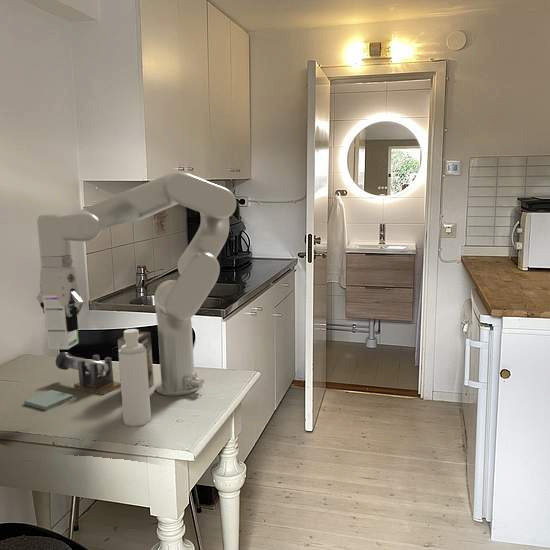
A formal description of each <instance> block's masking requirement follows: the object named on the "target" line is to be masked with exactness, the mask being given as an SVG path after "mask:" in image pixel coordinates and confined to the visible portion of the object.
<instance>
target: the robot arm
mask: <svg viewBox="0 0 550 550" xmlns="http://www.w3.org/2000/svg"><path fill="white" fill-rule="evenodd" d="M177 205H179V206H184V207H186V208H188V209H190V210H193V211H196V212H199V214H200V215H199V216H200V224H199V227H198V228H197V229H198V230H197V231H196V233H195V234H194V236H193V238H192V240H191V241H190V242H189V244H188V245H187V246H186V249H185V250H184V251H183V253H182V254H181V255H180V258H179V259H178V262H177V270H178V273H179V274H180V275H179V276H178V277H177V279H167V280H165V281H163V282H161V283H160V284H159V285H158V286H157V288H156V290H155V293H154V309H155V314H156V315H155V316H156V322H157V336H158V350H159V352H158V353H159V354H158V355H159V364H160V365H159V367H160V369H159V370H160V381H159V382H158V383H156V386H155V390H156V392H157V393H159V394H161V395H163V396H164V395H165V396H173V397H174V396H176V397H177V396H185V395H189V394H193V393H194V392H196V391H197V390H199V389H202V388H203V385H204V383H205V379H203V378H198V372H195V364H194V363H195V362H194V346H193V344H194V342H193V327H192V325H193V324H192V318H193V317H194V315H196V313H197V312H198V311H199V309H200V308H201V306H203V304H204V301H206V299H207V297H209V294H210V293H211V291H212V289H213V288H214V286H215V285H216V284H217V281H218V278H219V276H220V273H221V271H220V270H221V267H220V263H219V260H218V259H217V257H218V256H219V255H220V253H221V251H222V249H223V248H224V246H225V244H226V242H227V239H228V237H229V232H230V217H231V216H233V214H234V213H235V211H236V209H237V199H236V196H235V195H234V193H233V192H232V191H231V190H230V189H228V188H227V187H223V186H221V185H218V184H215V183H213V182H210V181H208V180H205V179H202V178H201V177H198V176H196V175H194V174H193V175H192V174H191V173H187V172H183V171H176V172H175V171H174V172H171V173H167V174H164V175H161V176H160V177H157V178H155V179H152V180H149V181H147V182H145V183H143V184H139V185H138V186H135V187H133V188H130V189H128V190H125V191H123V192H120V193H118V194H117V195H115V196H112V197H110V198H106V199H103V200H102V201H99V202H97V203H94V204H92V205H90V206H87V207H84V208H82V209H80V210H78V211H75V212H74V213H71V214H65V213H45V214H44V213H43V214H40V215H38V217H37V219H36V221H37V223H36V224H37V234H38V246H39V259H40V266H41V267H40V272H39V273H40V274H39V289H40V290H39V291H40V293H39V294H38V295H37V296H36V300H37V302H38V303H39V307H41V309H42V314H44V315H45V310H44V301H43V296H44V295H47V294H55V296H57V297H58V300H59V302H60V304H61V306H64V307H65V311H66V313H67V316H68V317H66V325H67V332H71V331H74V330H77V329H78V330H79V325H78V323H79V322H78V316H79V315H80V314H79V313H80V312H81V310H82V307H83V305H84V304H85V302H84V300H83V299H82V298H81V291H80V284H79V279H78V276H77V275H78V274H77V271H76V268H75V266H73V260H74V259H73V257H72V246H71V245H72V244H71V242H85V243H87V242H88V243H89V242H92V241H94V240H96V239H97V238H98V237H99V236H100V234H101V233H102V231H105V230H108V229H111V228H113V227H115V226H119V225H121V224H125V223H133V222H134V223H135V222H138V221H142V220H145V219H147V218H149V217H151V216H154V215H156V214H157V213H160V212H162V211H164V210H167V209H170V208H172V207H174V206H177ZM69 302H70V304H69ZM69 307H72V310H70V308H69ZM45 322H46V320H45Z"/></svg>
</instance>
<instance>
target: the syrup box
mask: <svg viewBox="0 0 550 550" xmlns="http://www.w3.org/2000/svg"><path fill="white" fill-rule="evenodd" d="M43 301H44V310H45V314H44V318H45V320H46V321H45V328H46V337H47V347H48V349H49V350H70V349H71V348H73V347H75V346H76V345H78V344H79V343H80V341H79V340H80V339H79V328H78V329H77V330H74V331H71V332H67V325H66V317H68V316H67V313H66V311H65V307H64V306H61V304H60V302H59V300H58V297H57V296H55V294H47V295H44V296H43ZM69 304H70V302H69ZM69 308H70V310H72V307H69Z"/></svg>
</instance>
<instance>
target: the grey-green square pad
mask: <svg viewBox="0 0 550 550" xmlns="http://www.w3.org/2000/svg"><path fill="white" fill-rule="evenodd" d="M72 398H73V399H74V395H73V394H70V393H66V392H61V391H59V390H58V391H57V390H54V389H50V390H47V391H45V392H43V393H40V394H38V395H35V396H33V397H30V398H28V399H26V400H24V401H23V404H24V405H26V406H28V407H29V406H30V407H33V408H37V409H41V410H43V411H48V410H50V409H53V408H55V407H57V406H59V404H60V405H62V404H64V403H66V401H67V402H69V401H71V400H73V399H72ZM70 399H71V400H70ZM68 400H69V401H68Z"/></svg>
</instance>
